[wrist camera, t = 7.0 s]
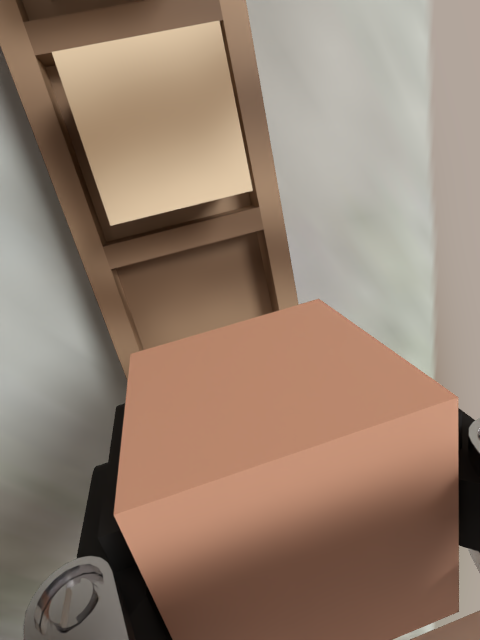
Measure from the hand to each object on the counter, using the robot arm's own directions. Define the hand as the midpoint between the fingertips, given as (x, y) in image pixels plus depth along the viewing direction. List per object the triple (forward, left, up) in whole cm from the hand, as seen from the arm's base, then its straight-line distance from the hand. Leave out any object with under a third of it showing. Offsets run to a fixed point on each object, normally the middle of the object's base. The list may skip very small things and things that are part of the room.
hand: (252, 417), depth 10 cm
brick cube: (0, 0, -1) cm, 1 cm away
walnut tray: (+5, +5, -11) cm, 14 cm away
